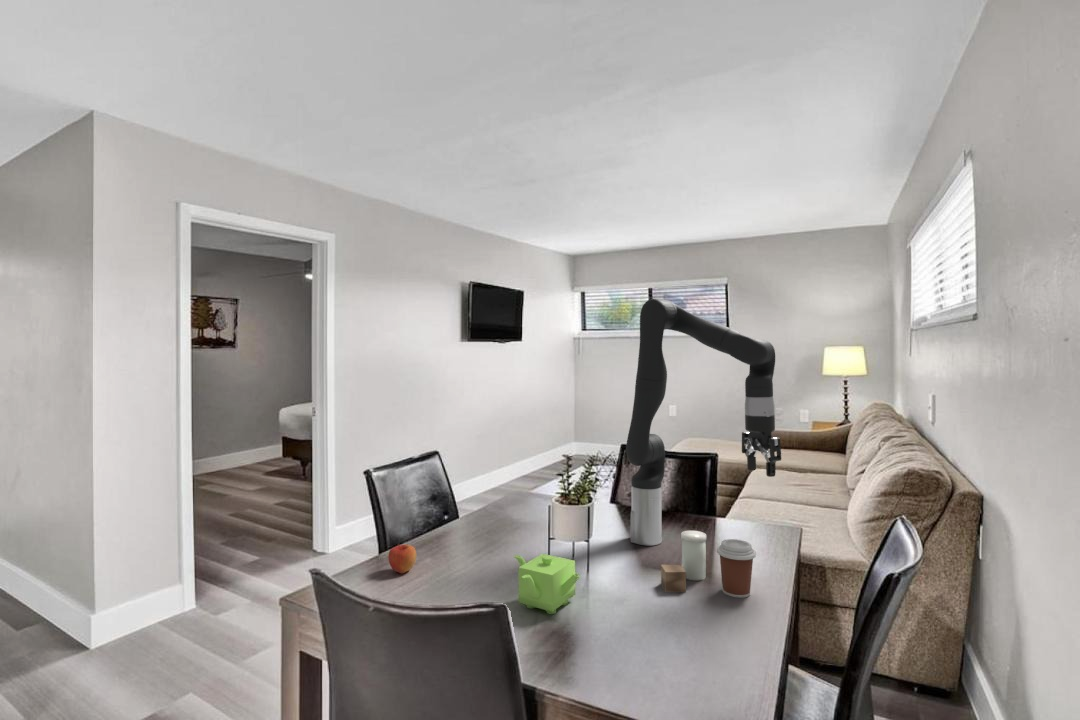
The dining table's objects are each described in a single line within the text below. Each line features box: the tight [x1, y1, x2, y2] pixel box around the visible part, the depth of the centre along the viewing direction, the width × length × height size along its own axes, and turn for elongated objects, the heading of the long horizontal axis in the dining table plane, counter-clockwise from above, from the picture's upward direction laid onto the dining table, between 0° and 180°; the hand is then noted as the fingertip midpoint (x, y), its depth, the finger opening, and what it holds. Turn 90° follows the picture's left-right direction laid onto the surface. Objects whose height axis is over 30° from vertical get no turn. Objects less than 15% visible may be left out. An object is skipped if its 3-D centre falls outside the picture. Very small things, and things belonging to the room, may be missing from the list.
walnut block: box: [660, 563, 687, 593], centre depth 142 cm, size 5×5×5 cm
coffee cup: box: [716, 538, 757, 599], centre depth 139 cm, size 9×9×12 cm
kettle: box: [513, 553, 581, 615], centre depth 133 cm, size 15×14×11 cm
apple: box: [388, 543, 417, 575], centre depth 153 cm, size 7×7×8 cm
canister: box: [680, 530, 707, 581], centre depth 150 cm, size 6×6×11 cm
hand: (761, 473), depth 154 cm, fingers open, 8 cm apart
